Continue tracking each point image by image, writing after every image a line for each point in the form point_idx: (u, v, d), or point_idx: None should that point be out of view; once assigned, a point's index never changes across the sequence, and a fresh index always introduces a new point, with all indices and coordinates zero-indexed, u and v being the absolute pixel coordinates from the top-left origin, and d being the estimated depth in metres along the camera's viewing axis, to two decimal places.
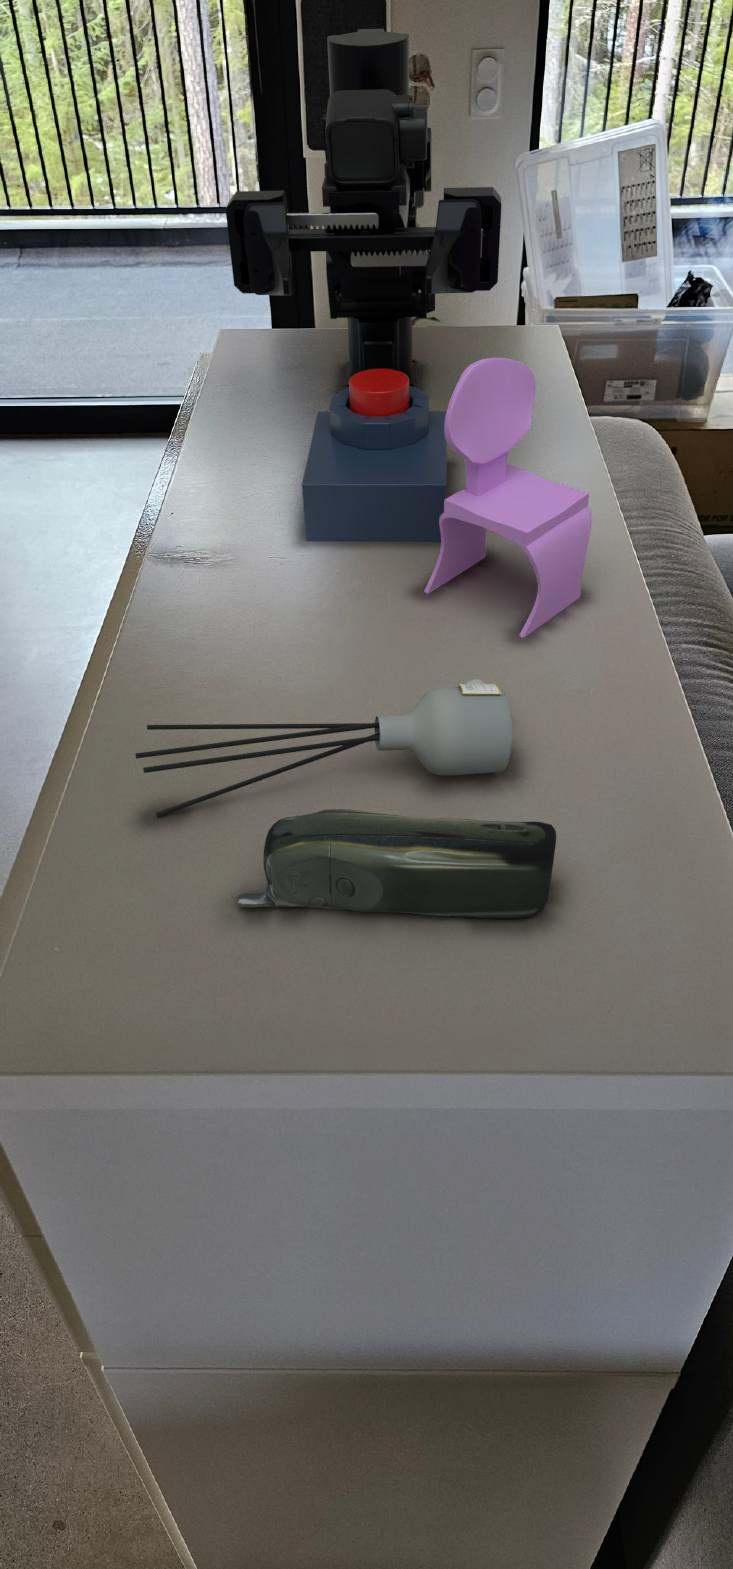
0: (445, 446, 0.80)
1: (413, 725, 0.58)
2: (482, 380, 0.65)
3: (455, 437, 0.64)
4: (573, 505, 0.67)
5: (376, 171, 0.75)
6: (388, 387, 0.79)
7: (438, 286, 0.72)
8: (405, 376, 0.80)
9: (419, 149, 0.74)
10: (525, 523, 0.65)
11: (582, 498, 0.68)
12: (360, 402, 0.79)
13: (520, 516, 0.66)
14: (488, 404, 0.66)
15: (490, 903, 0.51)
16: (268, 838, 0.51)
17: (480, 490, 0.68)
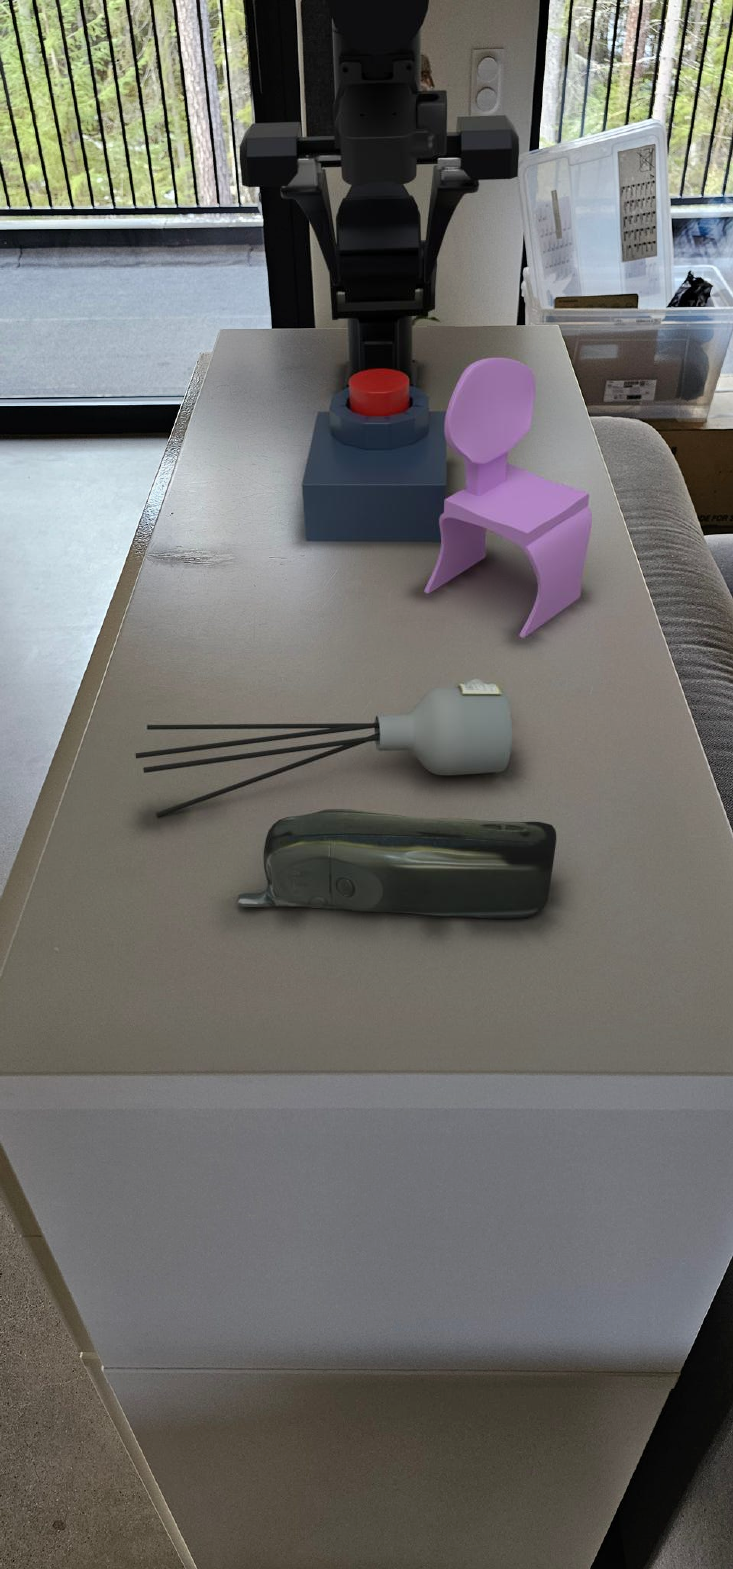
0: (445, 446, 0.80)
1: (413, 725, 0.57)
2: (482, 380, 0.65)
3: (455, 437, 0.64)
4: (573, 505, 0.67)
5: None
6: (388, 387, 0.79)
7: None
8: (405, 376, 0.80)
9: None
10: (525, 523, 0.65)
11: (582, 498, 0.68)
12: (360, 402, 0.79)
13: (520, 516, 0.66)
14: (488, 404, 0.66)
15: (490, 903, 0.51)
16: (268, 838, 0.51)
17: (480, 490, 0.68)
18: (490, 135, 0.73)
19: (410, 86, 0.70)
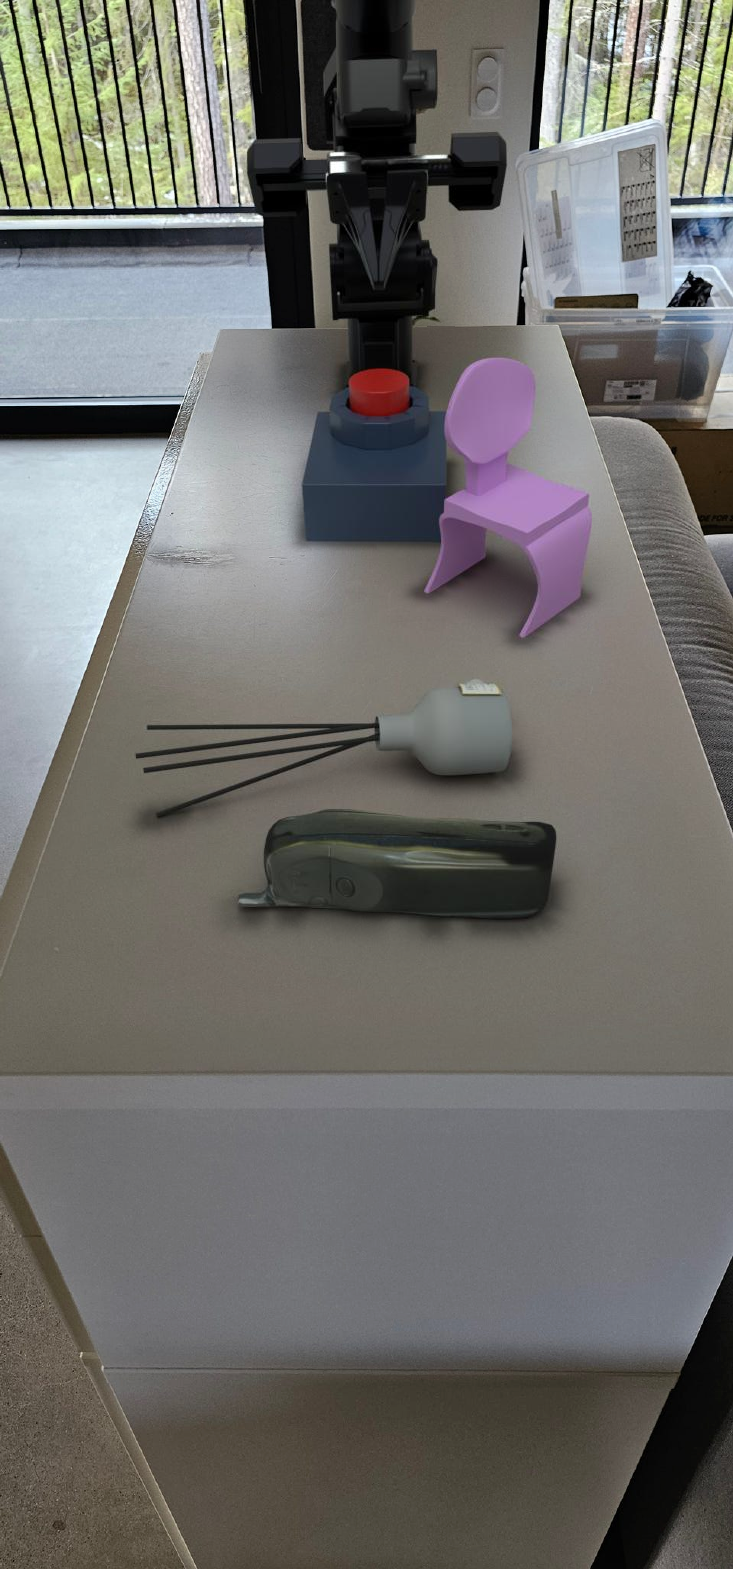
0: (445, 446, 0.80)
1: (413, 725, 0.58)
2: (482, 380, 0.65)
3: (455, 437, 0.64)
4: (573, 505, 0.67)
5: (387, 121, 0.78)
6: (388, 387, 0.79)
7: (389, 271, 0.82)
8: (405, 376, 0.80)
9: (429, 106, 0.76)
10: (525, 523, 0.65)
11: (582, 498, 0.68)
12: (360, 402, 0.79)
13: (520, 516, 0.66)
14: (488, 404, 0.66)
15: (490, 903, 0.51)
16: (268, 838, 0.51)
17: (481, 490, 0.68)
18: (478, 134, 0.79)
19: None
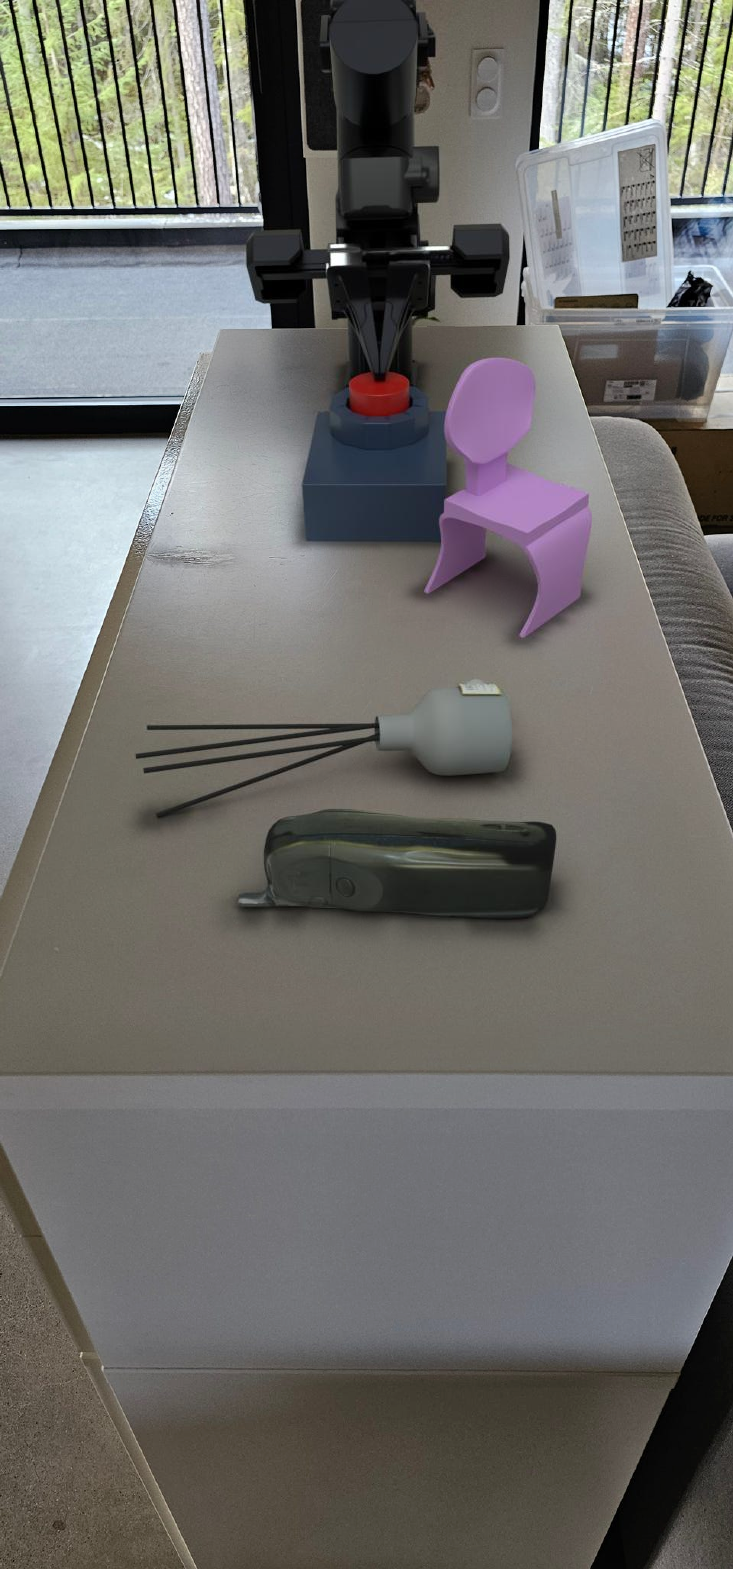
0: (445, 446, 0.80)
1: (413, 725, 0.57)
2: (482, 380, 0.65)
3: (455, 437, 0.64)
4: (573, 505, 0.67)
5: (389, 215, 0.76)
6: (388, 390, 0.79)
7: (390, 361, 0.81)
8: (405, 379, 0.81)
9: (431, 201, 0.75)
10: (525, 523, 0.65)
11: (582, 498, 0.68)
12: (360, 405, 0.80)
13: (520, 516, 0.66)
14: (488, 404, 0.66)
15: (490, 903, 0.51)
16: (268, 838, 0.51)
17: (480, 490, 0.68)
18: (481, 226, 0.78)
19: None
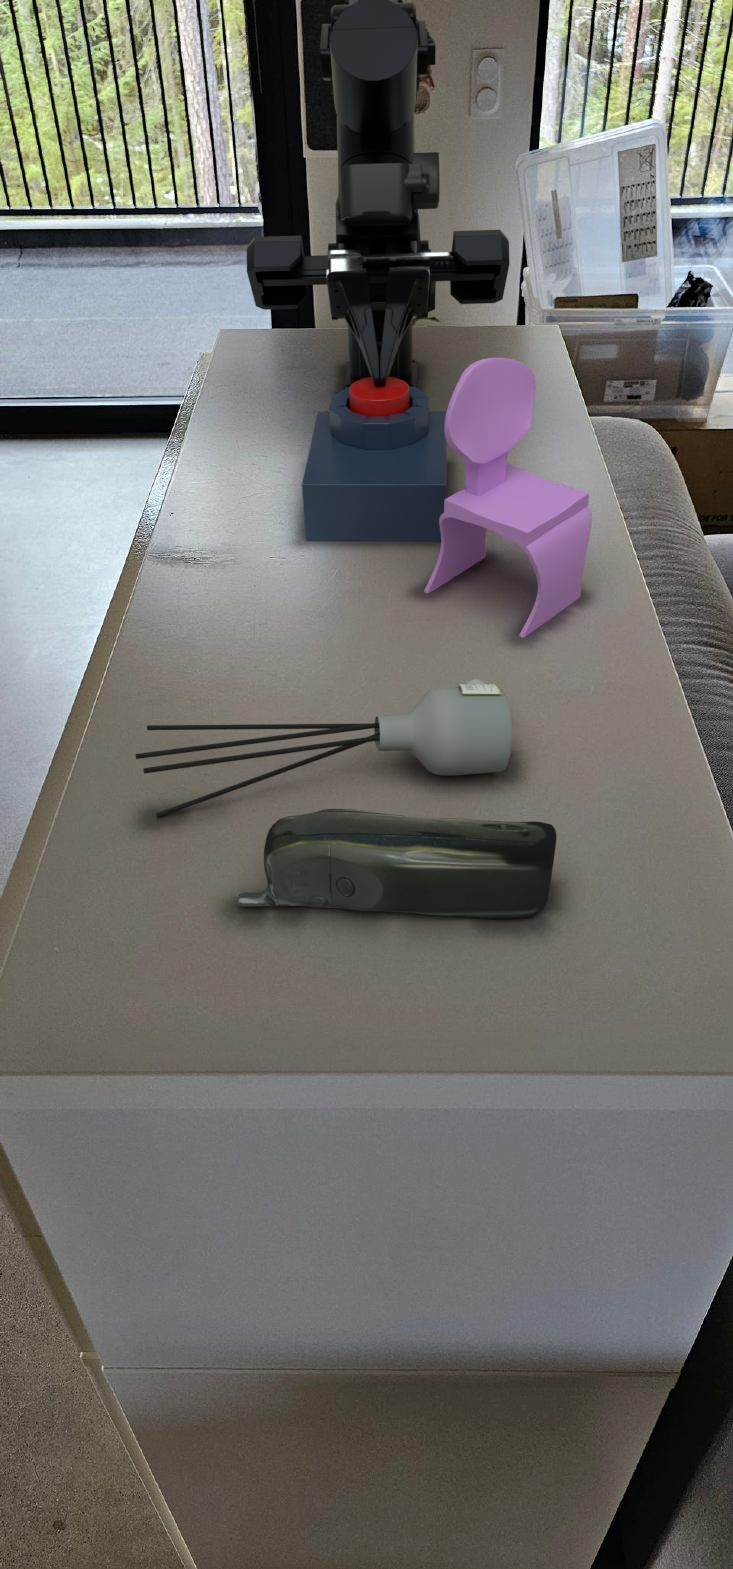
0: (445, 446, 0.80)
1: (413, 725, 0.57)
2: (482, 380, 0.65)
3: (455, 437, 0.64)
4: (573, 505, 0.67)
5: (389, 221, 0.77)
6: (388, 395, 0.79)
7: (390, 367, 0.81)
8: (405, 384, 0.81)
9: (431, 207, 0.75)
10: (525, 523, 0.65)
11: (583, 498, 0.68)
12: (360, 410, 0.80)
13: (520, 516, 0.66)
14: (488, 404, 0.66)
15: (490, 903, 0.51)
16: (268, 837, 0.51)
17: (481, 490, 0.68)
18: (481, 232, 0.78)
19: None
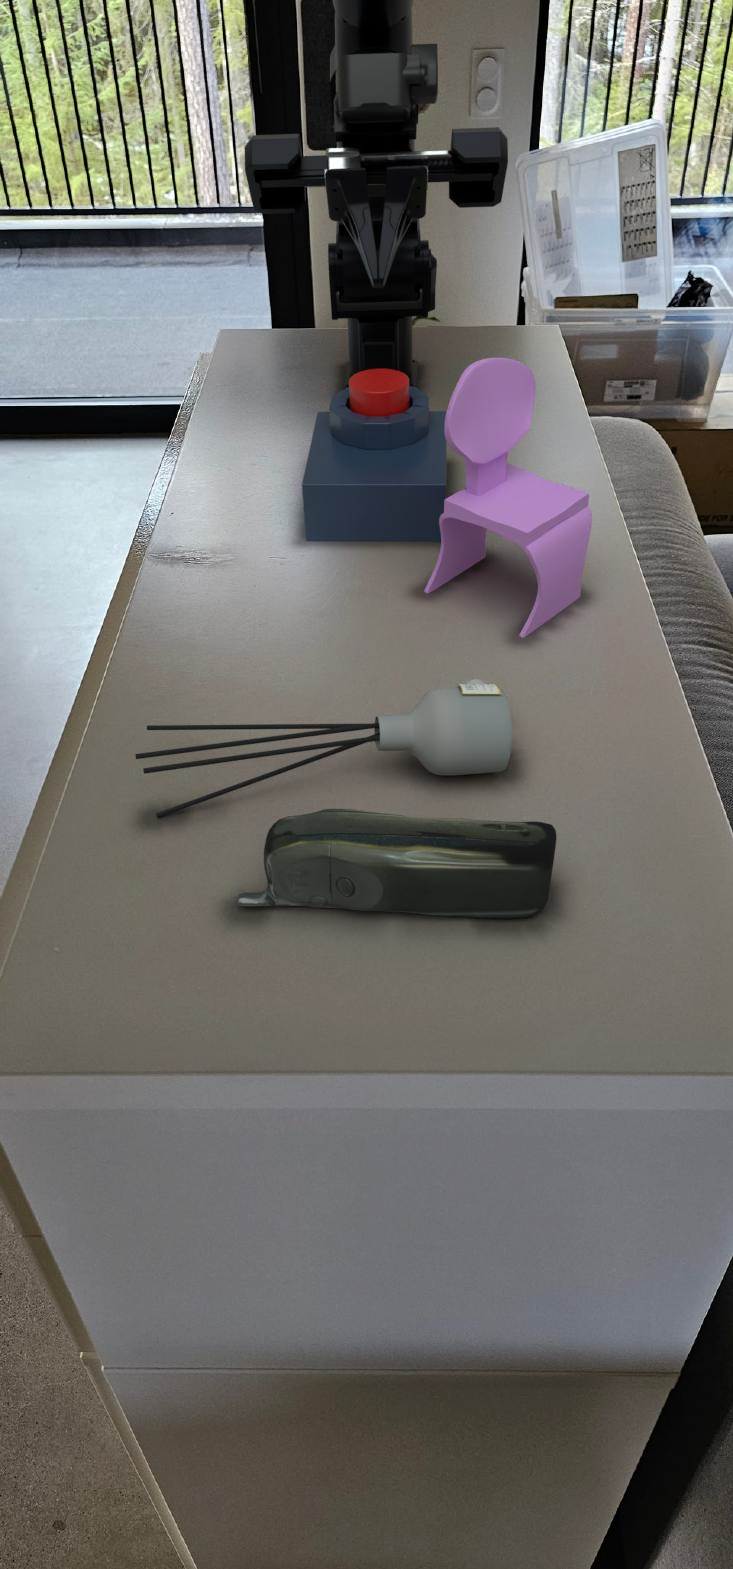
0: (445, 446, 0.80)
1: (413, 725, 0.57)
2: (482, 380, 0.65)
3: (455, 437, 0.64)
4: (573, 505, 0.67)
5: (387, 117, 0.76)
6: (388, 387, 0.79)
7: (389, 268, 0.81)
8: (405, 376, 0.80)
9: (429, 101, 0.75)
10: (525, 523, 0.65)
11: (582, 498, 0.68)
12: (360, 402, 0.79)
13: (520, 516, 0.66)
14: (488, 404, 0.66)
15: (490, 903, 0.51)
16: (268, 837, 0.51)
17: (481, 490, 0.68)
18: (479, 129, 0.78)
19: None
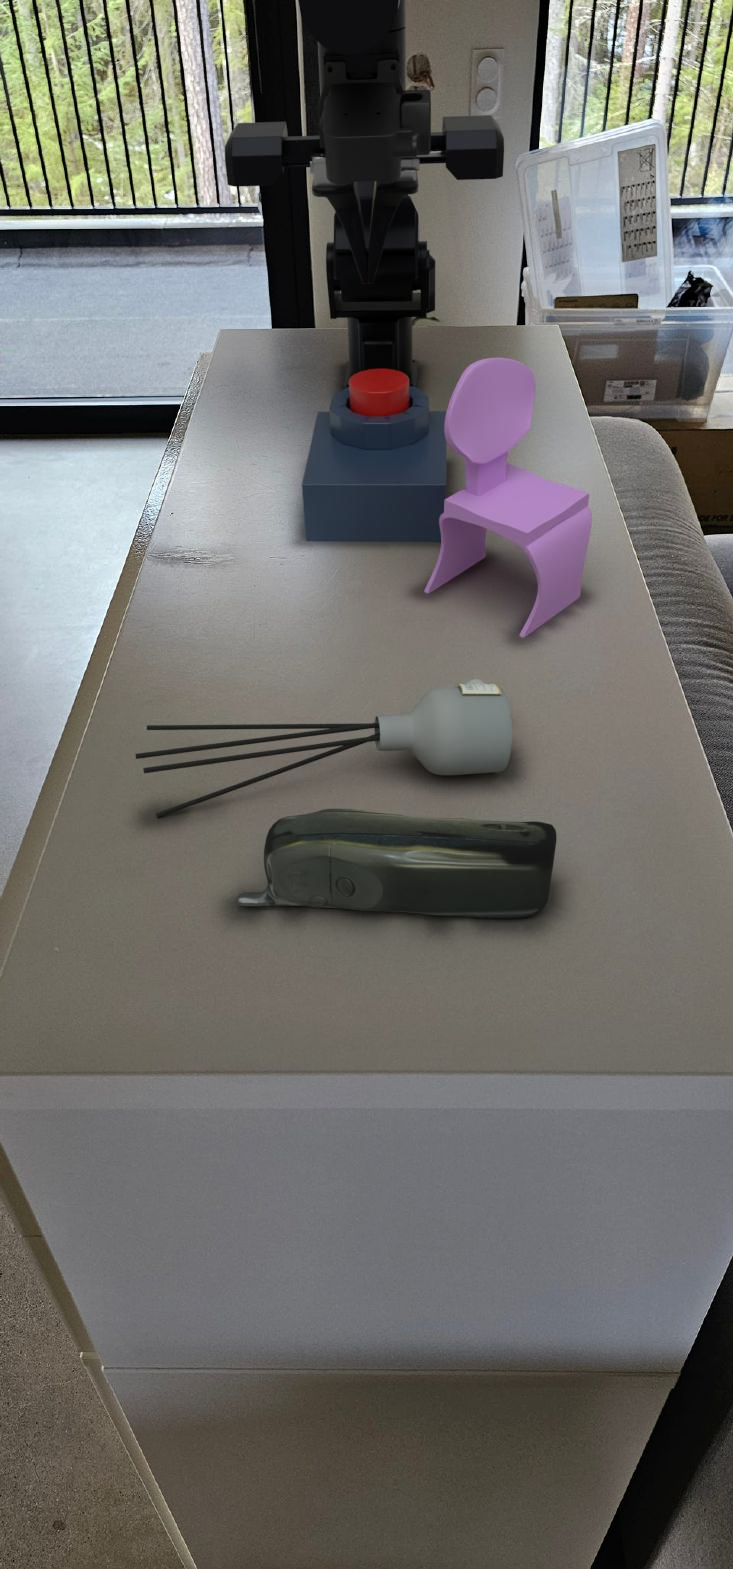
0: (445, 446, 0.80)
1: (413, 725, 0.57)
2: (482, 380, 0.65)
3: (455, 437, 0.64)
4: (573, 505, 0.67)
5: None
6: (388, 387, 0.79)
7: None
8: (405, 376, 0.80)
9: None
10: (525, 523, 0.65)
11: (582, 498, 0.68)
12: (360, 402, 0.79)
13: (520, 516, 0.66)
14: (488, 404, 0.66)
15: (490, 903, 0.51)
16: (268, 837, 0.51)
17: (481, 490, 0.68)
18: (475, 135, 0.73)
19: (394, 86, 0.70)
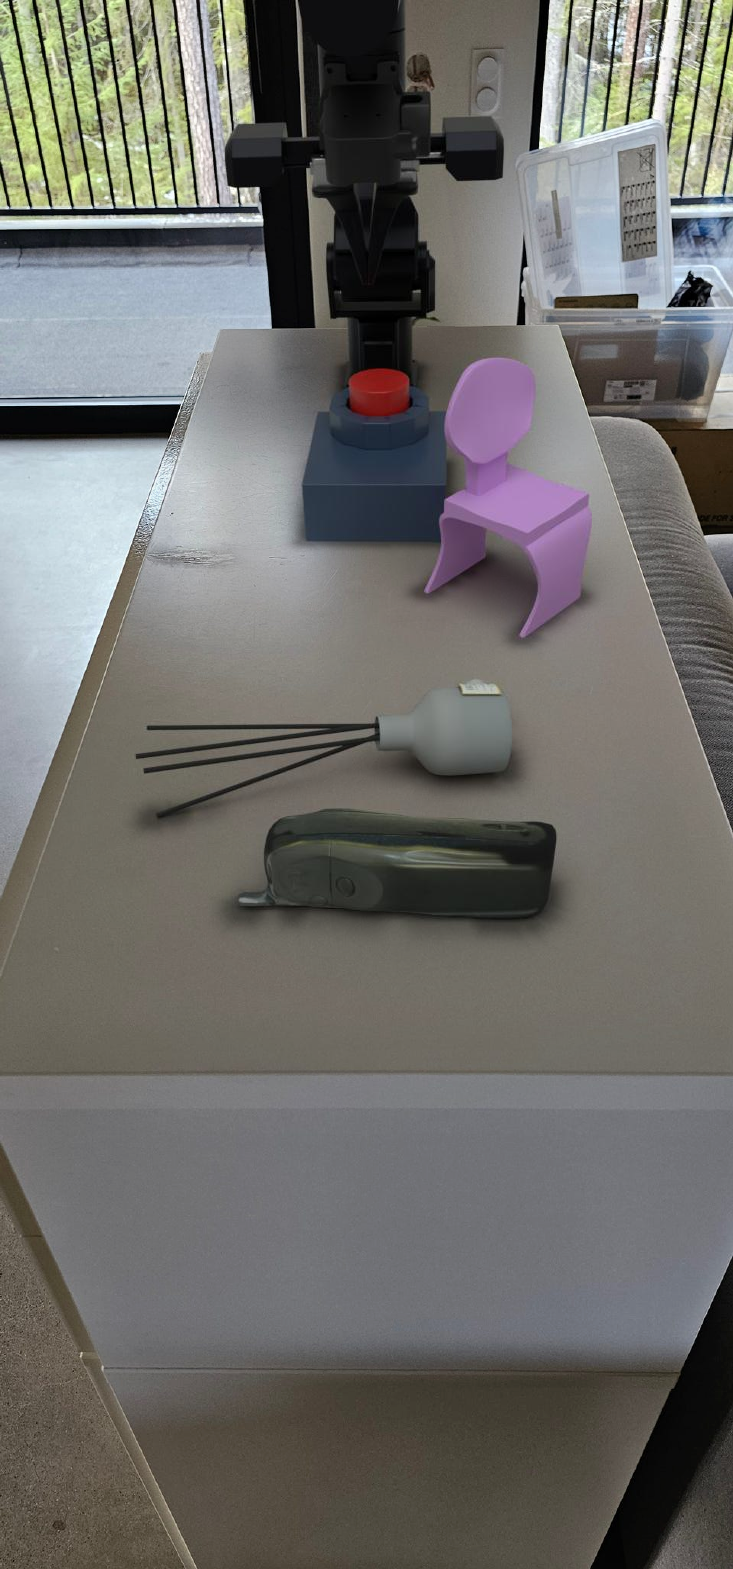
0: (445, 446, 0.80)
1: (413, 725, 0.57)
2: (482, 380, 0.65)
3: (455, 437, 0.64)
4: (573, 505, 0.67)
5: None
6: (388, 387, 0.79)
7: None
8: (405, 376, 0.80)
9: None
10: (525, 523, 0.65)
11: (582, 498, 0.68)
12: (360, 402, 0.79)
13: (520, 516, 0.66)
14: (488, 404, 0.66)
15: (490, 903, 0.51)
16: (268, 837, 0.51)
17: (481, 490, 0.68)
18: (475, 136, 0.73)
19: (394, 87, 0.70)
